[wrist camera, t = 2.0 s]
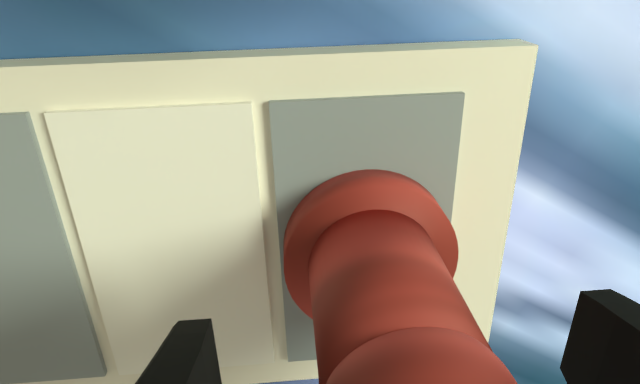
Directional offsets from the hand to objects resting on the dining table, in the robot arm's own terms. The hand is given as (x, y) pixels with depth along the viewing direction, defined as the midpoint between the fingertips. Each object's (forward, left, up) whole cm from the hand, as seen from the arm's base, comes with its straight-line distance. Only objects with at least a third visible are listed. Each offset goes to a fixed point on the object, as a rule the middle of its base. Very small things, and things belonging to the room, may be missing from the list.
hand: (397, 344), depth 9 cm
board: (0, +10, -5) cm, 11 cm away
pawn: (0, 0, -4) cm, 4 cm away
